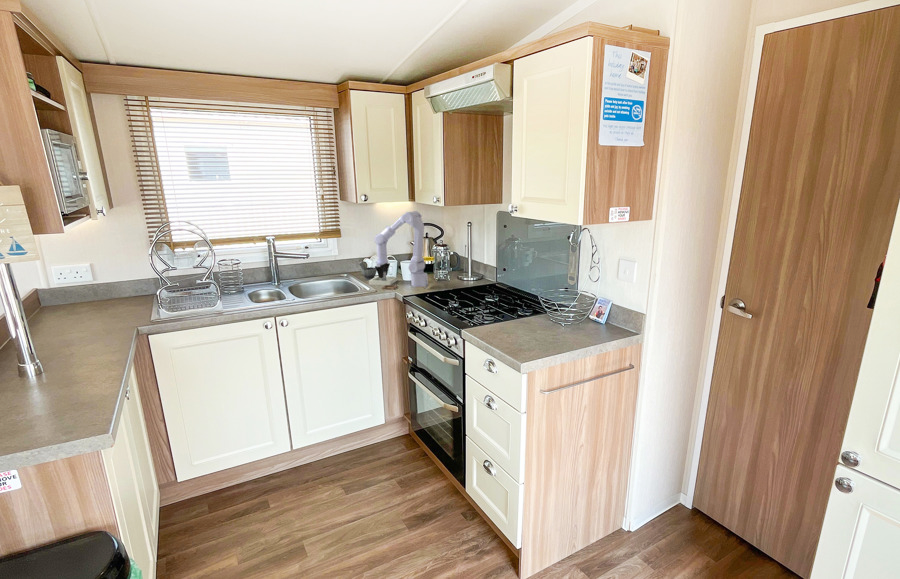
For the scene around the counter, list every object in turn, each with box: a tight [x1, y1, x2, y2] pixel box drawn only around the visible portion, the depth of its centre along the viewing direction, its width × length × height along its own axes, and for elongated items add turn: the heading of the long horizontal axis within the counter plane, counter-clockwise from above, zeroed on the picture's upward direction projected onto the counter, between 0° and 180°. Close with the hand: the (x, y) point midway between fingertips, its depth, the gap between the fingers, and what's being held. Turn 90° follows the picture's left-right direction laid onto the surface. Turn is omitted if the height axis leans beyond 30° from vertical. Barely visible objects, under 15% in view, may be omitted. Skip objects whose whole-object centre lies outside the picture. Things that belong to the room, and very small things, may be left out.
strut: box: [380, 272, 387, 281], centre depth 267 cm, size 4×4×7 cm
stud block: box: [381, 284, 398, 291], centre depth 253 cm, size 10×10×2 cm
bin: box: [368, 275, 398, 286], centre depth 268 cm, size 13×13×4 cm
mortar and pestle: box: [358, 260, 378, 281], centre depth 282 cm, size 11×9×12 cm
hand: (383, 276), depth 267 cm, fingers open, 7 cm apart
